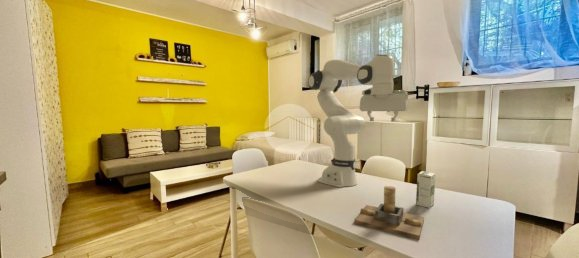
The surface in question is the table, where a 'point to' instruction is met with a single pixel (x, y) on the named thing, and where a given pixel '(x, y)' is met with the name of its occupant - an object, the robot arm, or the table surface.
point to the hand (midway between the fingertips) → (382, 121)
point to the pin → (389, 199)
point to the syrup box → (425, 189)
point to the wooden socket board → (391, 221)
